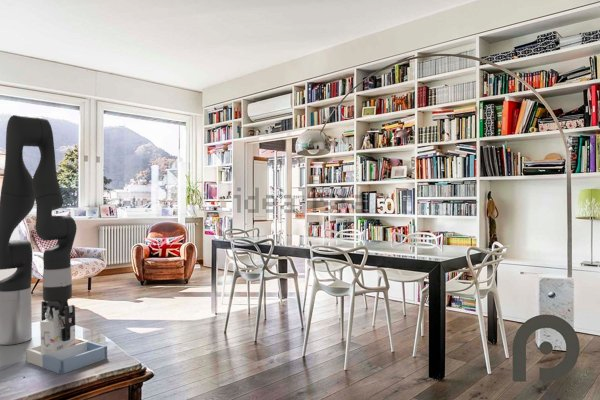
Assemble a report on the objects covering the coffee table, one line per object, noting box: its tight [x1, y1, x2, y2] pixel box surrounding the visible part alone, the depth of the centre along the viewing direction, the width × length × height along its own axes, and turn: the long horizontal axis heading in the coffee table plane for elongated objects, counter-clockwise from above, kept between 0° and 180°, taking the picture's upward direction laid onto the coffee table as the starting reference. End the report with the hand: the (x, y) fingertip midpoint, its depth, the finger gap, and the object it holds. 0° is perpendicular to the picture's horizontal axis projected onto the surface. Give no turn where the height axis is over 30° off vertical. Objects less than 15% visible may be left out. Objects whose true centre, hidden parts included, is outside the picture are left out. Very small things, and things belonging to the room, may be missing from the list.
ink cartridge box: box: [39, 310, 76, 354], centre depth 128 cm, size 9×5×15 cm, turn 168°
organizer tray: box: [25, 336, 108, 375], centre depth 126 cm, size 18×14×4 cm
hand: (58, 338), depth 128 cm, fingers open, 8 cm apart
